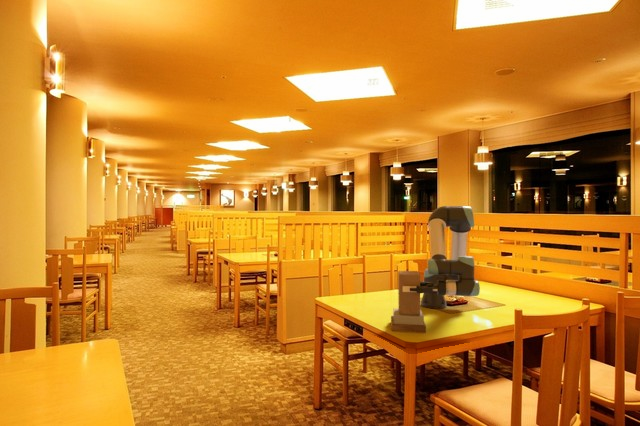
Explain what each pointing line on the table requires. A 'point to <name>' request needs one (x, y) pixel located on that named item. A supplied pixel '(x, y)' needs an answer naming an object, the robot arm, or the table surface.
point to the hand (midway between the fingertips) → (401, 286)
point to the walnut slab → (407, 327)
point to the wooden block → (408, 293)
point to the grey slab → (408, 318)
